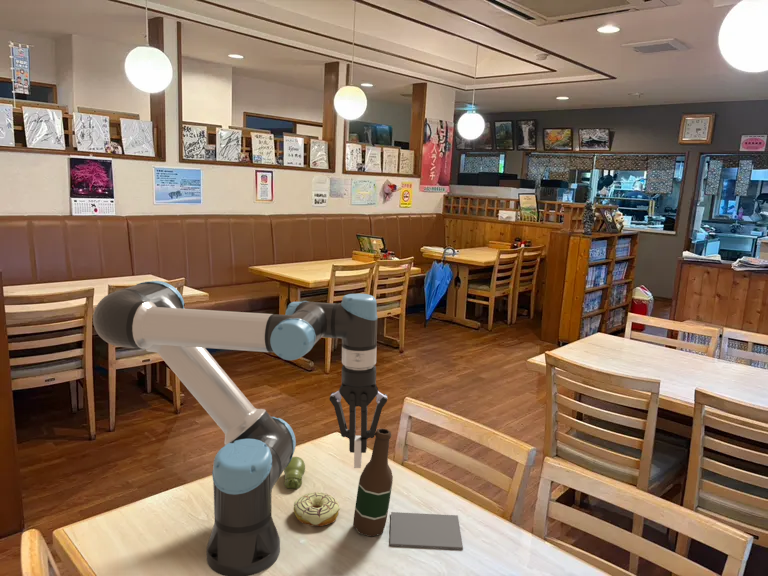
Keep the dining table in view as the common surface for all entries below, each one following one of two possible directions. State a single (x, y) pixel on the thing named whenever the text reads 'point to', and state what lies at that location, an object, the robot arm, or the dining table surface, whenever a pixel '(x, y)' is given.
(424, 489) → the dining table surface
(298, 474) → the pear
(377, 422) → the robot arm
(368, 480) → the beer bottle
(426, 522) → the mat
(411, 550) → the dining table surface
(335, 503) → the decorated donut
